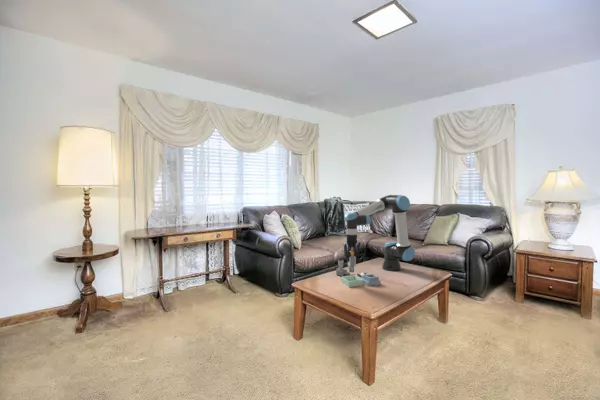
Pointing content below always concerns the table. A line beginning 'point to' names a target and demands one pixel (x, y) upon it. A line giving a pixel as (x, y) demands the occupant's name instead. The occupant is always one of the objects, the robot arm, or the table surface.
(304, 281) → the table surface
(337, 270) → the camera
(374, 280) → the block
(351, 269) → the orange and grey cylinder
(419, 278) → the table surface
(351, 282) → the tray
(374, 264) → the table surface
